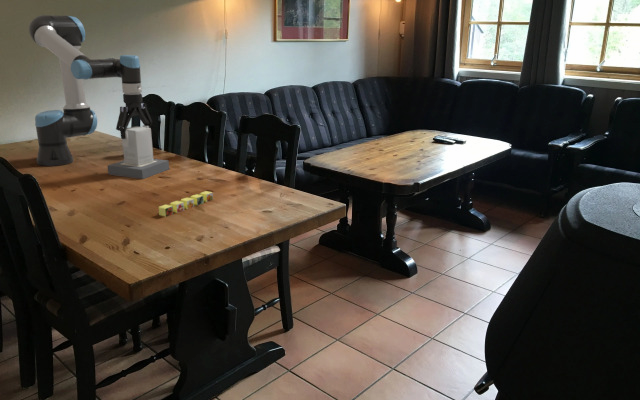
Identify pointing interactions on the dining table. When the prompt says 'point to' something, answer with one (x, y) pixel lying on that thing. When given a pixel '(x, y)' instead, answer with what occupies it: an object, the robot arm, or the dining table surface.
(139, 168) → the plinth
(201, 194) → the row of toy blocks
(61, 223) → the dining table surface
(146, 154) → the supplement box
